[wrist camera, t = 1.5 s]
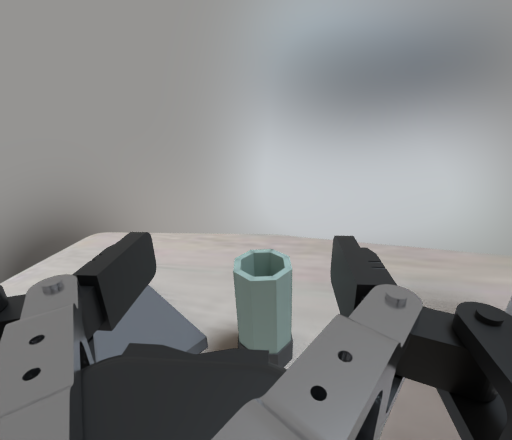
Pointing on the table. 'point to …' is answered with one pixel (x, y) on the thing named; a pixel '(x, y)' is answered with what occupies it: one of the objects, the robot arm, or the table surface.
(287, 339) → the sleeve
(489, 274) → the table surface
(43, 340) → the robot arm
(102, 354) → the pin board
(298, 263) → the table surface
